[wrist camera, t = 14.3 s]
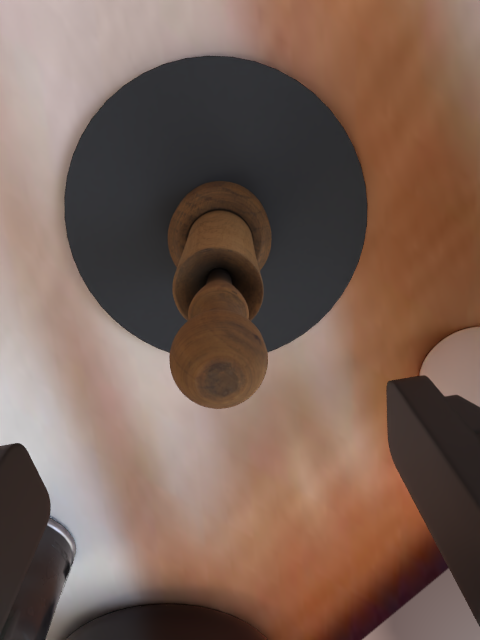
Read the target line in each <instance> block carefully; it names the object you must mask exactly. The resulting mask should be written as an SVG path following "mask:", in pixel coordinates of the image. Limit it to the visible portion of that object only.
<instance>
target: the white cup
mask: <svg viewBox="0 0 480 640" xmlns="http://www.w3.org/2000/svg"><path fill="white" fill-rule="evenodd" d="M421 375H425V376H427V377H428V378H429V379H430V380H431V381H432V382H433V383H434V385H435V386H436V387H437V388H438V389H439V390H440V392H441V393H442V394H443V395H444V396H451V395H459V396H461V397H462V398H464V399H466V400H468V401H470V402H471V403H473V404H475V405H477V406H479V407H480V327H471V328H467V329H463V330H460V331H458V332H455V333H453V334H451V335H449V336H448V337H446V338H445V339H443V340H442V341H440V342H439V343H438V344H437V345H436V346H435V347H434V348H433V349H432V350H431V351H430V352H429V354H428V355H427V357H426V358H425V360H424V362H423V364H422V367H421V370H420V374H419V376H421Z"/></svg>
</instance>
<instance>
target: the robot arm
mask: <svg viewBox="0 0 480 640" xmlns="http://www.w3.org/2000/svg"><path fill="white" fill-rule="evenodd" d="M387 427H388V443H389V448H390V452H391V456H392V459H393V461H394V464H395V466H396V468H397V470H398V472H399V474H400V476H401V478H402V480H403V482H404V483H405V485H406V487H407V489H408V491H409V493H410V495H411V497H412V499H413V501H414V502H415V504H416V506H417V508H418V510H419V512H420V514H421V516H422V518H423V520H424V522H425V523H426V525H427V527H428V529H429V531H430V533H431V535H432V537H433V539H434V541H435V542H436V544H437V546H438V548H439V550H440V552H441V554H442V556H443V558H444V560H445V562H446V563H447V565H448V567H449V569H450V571H451V573H452V575H453V577H454V579H455V581H456V582H457V584H458V586H459V588H460V590H461V592H462V594H463V596H464V597H465V600H466V601H467V603H468V605H469V607H470V609H471V611H472V613H473V615H474V617H475V619H476V620H477V622H478V624H479V626H480V407H479V406H477V405H475V404H473V403H471V402H470V401H468V400H466V399H464V398H462V397H461V396H459V395H451V396H444V395H443V394H442V393H441V392H440V390H439V389H438V388H437V387H436V386H435V385H434V383H433V382H432V381H431V380H430V379H429V378H428V377H427V376H425V375H421V376H415V377H410V378H404V379H398V380H392V381H389V382H388V383H387ZM49 517H50V498H49V494H48V492H47V489H46V487H45V485H44V483H43V481H42V479H41V477H40V475H39V473H38V471H37V469H36V467H35V465H34V463H33V461H32V459H31V457H30V455H29V453H28V451H27V450H26V448H25V447H24V446H23V445H22V444H19V443H15V444H9V445H4V446H0V640H45V639H46V636H47V633H48V631H49V628H50V625H51V622H52V619H53V616H54V613H55V610H56V607H57V604H58V601H59V598H60V595H61V592H62V589H63V586H65V585H64V583H66V582H65V580H67V579H66V577H67V575H69V574H68V573H69V572H70V571H69V570H71V569H70V567H72V566H71V565H72V564H73V560H74V557H75V554H76V545H75V542H74V539H73V537H72V536H71V534H70V533H69V532H68V531H67V530H66V529H65V528H64V527H63V526H62V525H61V524H59V523H58V522H56V521H54V520H52V519H50V518H49ZM67 578H68V577H67Z"/></svg>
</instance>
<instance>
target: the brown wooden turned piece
mask: <svg viewBox="0 0 480 640" xmlns="http://www.w3.org/2000/svg"><path fill="white" fill-rule="evenodd" d="M168 247H169V251H170V255H171V257H172V260H173V262H174V264H175V265H176V267H177V270H176V272H175V275H174V279H173V297H174V301H175V304H176V306H177V308H178V310H179V311H180V313H181V314H182V316H183V317H184V318H185V319H186V320H187V322H186V323H185V324H184V325H183V326H182V327H181V328H180V330H179V331H178V333H177V334H176V336H175V338H174V340H173V343H172V346H171V350H170V369H171V373H172V376H173V379H174V381H175V383H176V385H177V386H178V388H179V389H180V390H181V392H182V393H183V394H184V395H185V396H186V397H187V398H189V399H190V400H191V401H193V402H195V403H197V404H199V405H201V406H204V407H208V408H215V409H221V408H229V407H232V406H235V405H238V404H240V403H242V402H244V401H245V400H247V399H248V398H249V397H250V396H252V395H253V394H254V393H255V391H256V390H257V389H258V388H259V386H260V385H261V383H262V381H263V379H264V376H265V373H266V370H267V364H268V354H267V349H266V345H265V342H264V340H263V337H262V335H261V333H260V331H259V330H258V328H257V327H256V326H255V325H254V324H253V323H252V322H251V321H252V320H253V318H254V317H255V316H256V315H257V313H258V311H259V309H260V307H261V305H262V301H263V295H264V288H263V281H262V277H261V274H260V270H261V269H262V267H263V266H264V264H265V262H266V260H267V258H268V256H269V252H270V248H271V228H270V223H269V220H268V217H267V215H266V212H265V210H264V208H263V206H262V204H261V203H260V201H259V200H258V199H257V198H256V196H255V195H254V194H252V193H251V192H250V191H249V190H247V189H246V188H244V187H243V186H241V185H238V184H235V183H232V182H226V181H214V182H209V183H205V184H203V185H200V186H198V187H197V188H195V189H194V190H192V191H191V192H190V193H188V194H187V195H186V196H185V197H184V198H183V200H182V201H181V202H180V204H179V205H178V207H177V208H176V210H175V212H174V214H173V216H172V218H171V221H170V224H169V229H168Z"/></svg>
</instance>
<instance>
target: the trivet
mask: <svg viewBox="0 0 480 640" xmlns="http://www.w3.org/2000/svg"><path fill="white" fill-rule="evenodd" d="M214 181H226V182H232V183H235V184H238V185H241V186H243V187H244V188H246V189H247V190H249V191H250V192H251V193H252V194H254V195H255V196H256V198H257V199H258V200H259V201H260V203H261V204H262V206H263V208H264V210H265V212H266V215H267V217H268V220H269V223H270V228H271V248H270V252H269V256H268V258H267V260H266V262H265V264H264V266H263V267H262V269H261V270H260V274H261V277H262V281H263V288H264V295H263V301H262V305H261V307H260V309H259V311H258V313H257V315H256V316H255V317H254V318H253V320H252V321H251V322H252V323H253V324H254V325H255V326H256V327H257V328H258V330H259V331H260V333H261V335H262V337H263V340H264V342H265V345H266V349H267V352H269V351H272V350H275V349H277V348H279V347H281V346H283V345H285V344H287V343H289V342H291V341H293V340H294V339H296V338H298V337H299V336H301V335H302V334H304V333H305V332H307V331H308V330H309V329H310V328H312V327H313V326H314V325H315V324H316V323H318V322H319V321H320V320H321V319H322V318H323V317H324V316H325V315H326V314H327V313H328V312H329V311H330V310H331V308H332V307H333V306H334V304H335V303H336V302H337V300H338V299H339V298H340V297H341V295H342V294H343V292H344V290H345V289H346V287H347V285H348V283H349V282H350V280H351V278H352V276H353V273H354V271H355V269H356V266H357V264H358V262H359V258H360V255H361V251H362V248H363V245H364V239H365V233H366V226H367V197H366V187H365V182H364V177H363V173H362V169H361V165H360V162H359V160H358V157H357V154H356V152H355V149H354V147H353V144H352V143H351V141H350V139H349V137H348V135H347V133H346V132H345V130H344V128H343V126H342V125H341V124H340V122H339V121H338V120H337V118H336V117H335V116H334V114H333V113H332V112H331V110H330V109H329V108H328V107H327V106H326V105H325V104H324V103H323V102H322V101H321V100H320V99H319V98H318V97H317V96H316V95H315V94H314V93H313V92H311V91H310V90H309V89H307V88H306V87H305V86H303V85H302V84H301V83H299V82H298V81H297V80H295V79H293V78H291V77H290V76H288V75H286V74H284V73H282V72H280V71H279V70H277V69H274V68H272V67H269V66H266V65H263V64H260V63H258V62H255V61H250V60H245V59H240V58H235V57H225V56H202V57H193V58H185V59H181V60H178V61H174V62H170V63H167V64H163V65H161V66H159V67H156V68H154V69H152V70H150V71H147V72H145V73H143V74H141V75H140V76H138V77H137V78H135V79H134V80H132V81H130V82H129V83H127V84H126V85H124V86H123V87H122V88H121V89H120V90H118V91H117V92H116V93H115V94H114V95H113V96H112V97H110V98H109V99H108V100H107V101H106V102H105V103H104V105H103V106H102V107H101V108H100V109H99V111H98V112H97V113H96V114H95V115H94V117H93V118H92V119H91V121H90V123H89V124H88V126H87V128H86V129H85V131H84V132H83V134H82V136H81V138H80V140H79V142H78V145H77V147H76V149H75V152H74V154H73V157H72V160H71V164H70V168H69V171H68V175H67V182H66V189H65V223H66V230H67V237H68V241H69V245H70V248H71V252H72V255H73V258H74V261H75V263H76V265H77V268H78V270H79V272H80V275H81V277H82V278H83V280H84V282H85V284H86V285H87V287H88V289H89V291H90V292H91V293H92V295H93V296H94V297H95V299H96V300H97V301H98V303H99V304H100V305H101V307H102V308H103V309H104V310H105V311H106V312H107V313H108V314H109V315H110V316H111V317H112V318H113V319H114V320H115V321H116V322H117V323H119V324H120V325H121V326H122V327H124V328H125V329H126V330H127V331H129V332H130V333H132V334H133V335H135V336H136V337H138V338H139V339H141V340H142V341H144V342H146V343H148V344H150V345H152V346H154V347H156V348H158V349H161V350H164V351H167V352H170V350H171V346H172V343H173V340H174V338H175V336H176V334H177V333H178V331H179V330H180V328H181V327H182V326H183V325H184V324H185V323H186V322H187V320H186V319H185V318H184V317H183V316H182V314H181V313H180V311H179V310H178V308H177V306H176V304H175V301H174V297H173V279H174V275H175V272H176V270H177V267H176V265H175V264H174V262H173V260H172V257H171V255H170V251H169V247H168V229H169V224H170V221H171V218H172V216H173V214H174V212H175V210H176V208H177V207H178V205H179V204H180V202H181V201H182V200H183V198H184V197H185V196H186V195H187V194H188V193H190V192H191V191H192V190H194V189H195V188H197V187H198V186H200V185H203V184H205V183H209V182H214Z"/></svg>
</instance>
